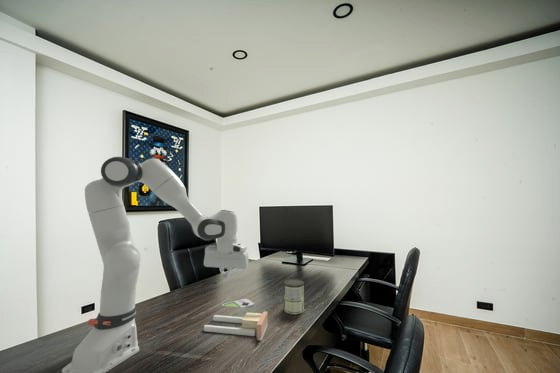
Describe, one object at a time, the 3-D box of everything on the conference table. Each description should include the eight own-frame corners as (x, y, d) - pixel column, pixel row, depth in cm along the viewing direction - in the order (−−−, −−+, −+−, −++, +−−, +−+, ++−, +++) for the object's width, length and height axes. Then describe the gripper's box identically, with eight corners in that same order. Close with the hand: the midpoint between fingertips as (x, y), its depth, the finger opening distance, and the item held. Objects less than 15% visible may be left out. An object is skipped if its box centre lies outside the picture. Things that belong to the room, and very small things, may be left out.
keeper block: (258, 334, 97) (258, 321, 98) (241, 332, 98) (241, 319, 99) (262, 325, 104) (262, 313, 104) (246, 324, 105) (246, 312, 106)
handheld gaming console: (255, 303, 127) (229, 310, 119) (255, 306, 127) (229, 313, 119) (246, 297, 136) (221, 303, 127) (246, 300, 135) (221, 306, 127)
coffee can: (280, 307, 125) (281, 280, 126) (298, 304, 129) (298, 278, 130) (288, 315, 116) (288, 286, 117) (307, 312, 119) (307, 283, 120)
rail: (261, 340, 94) (261, 324, 95) (200, 334, 98) (201, 319, 99) (267, 325, 106) (267, 311, 107) (213, 320, 110) (213, 307, 111)
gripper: (201, 246, 105) (200, 278, 104) (245, 248, 102) (244, 281, 101) (208, 244, 112) (207, 274, 110) (250, 246, 108) (249, 277, 107)
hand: (225, 277), depth 105 cm, fingers closed
